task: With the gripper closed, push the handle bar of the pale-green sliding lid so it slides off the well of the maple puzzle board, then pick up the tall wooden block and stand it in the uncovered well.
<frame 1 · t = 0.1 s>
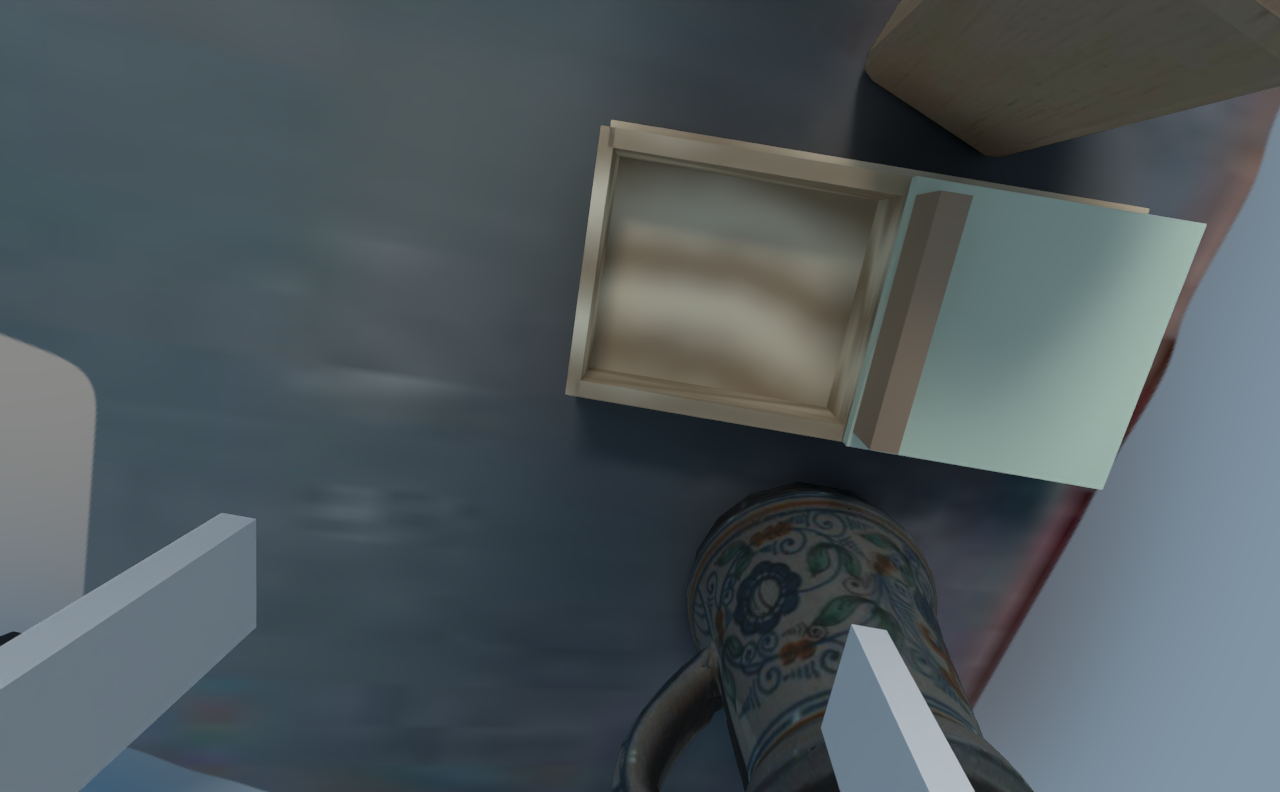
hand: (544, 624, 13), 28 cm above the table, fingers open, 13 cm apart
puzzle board: (839, 305, 38), on the table
lid: (1027, 345, 31), point 7 cm above the table, slide at 0.0 cm
beer stein: (781, 590, 44), on the table
wooden block: (974, 40, 34), on the table
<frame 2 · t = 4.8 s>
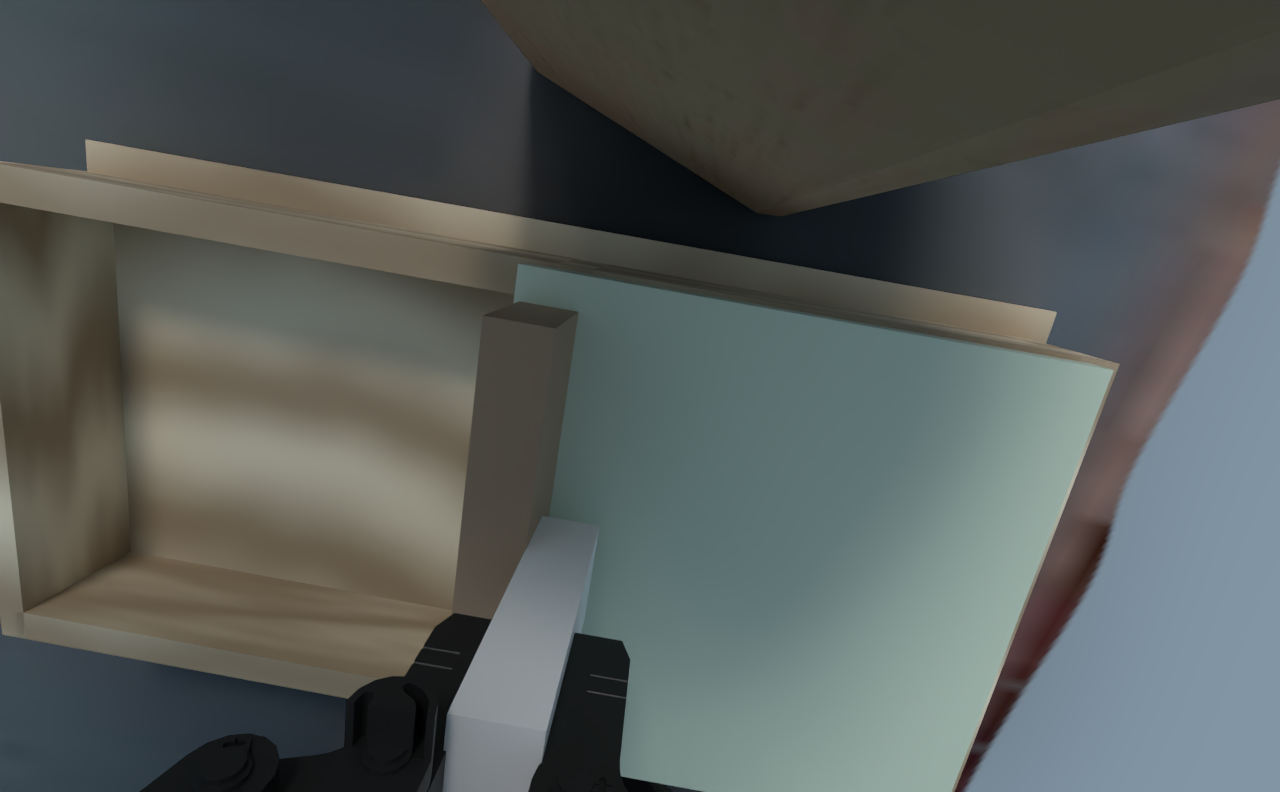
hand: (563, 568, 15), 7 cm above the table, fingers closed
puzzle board: (540, 457, 23), on the table
lid: (754, 603, 15), point 7 cm above the table, slide at 0.8 cm, touching gripper
wooden block: (734, 1, 19), on the table
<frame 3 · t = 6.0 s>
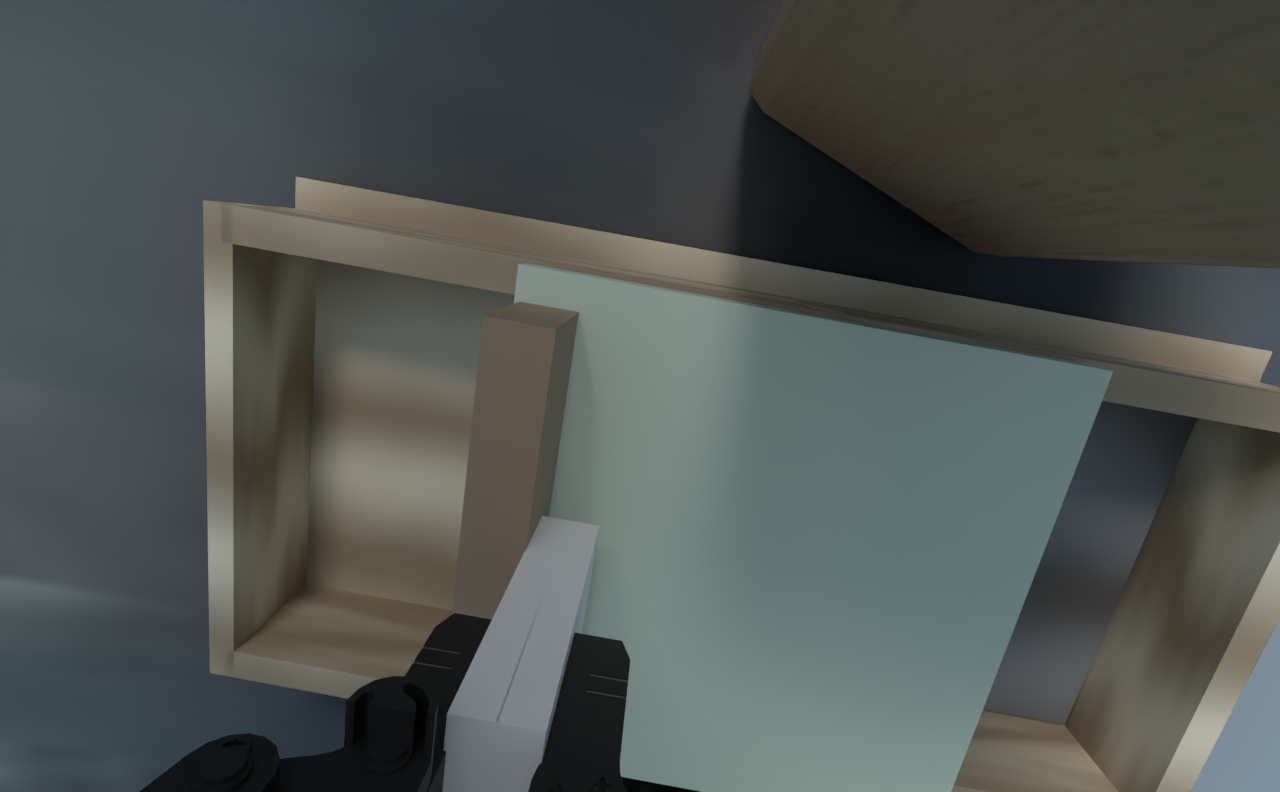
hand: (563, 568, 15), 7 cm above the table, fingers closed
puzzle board: (724, 491, 22), on the table
lid: (754, 604, 16), point 7 cm above the table, slide at 7.8 cm, touching gripper
wooden block: (956, 41, 19), on the table
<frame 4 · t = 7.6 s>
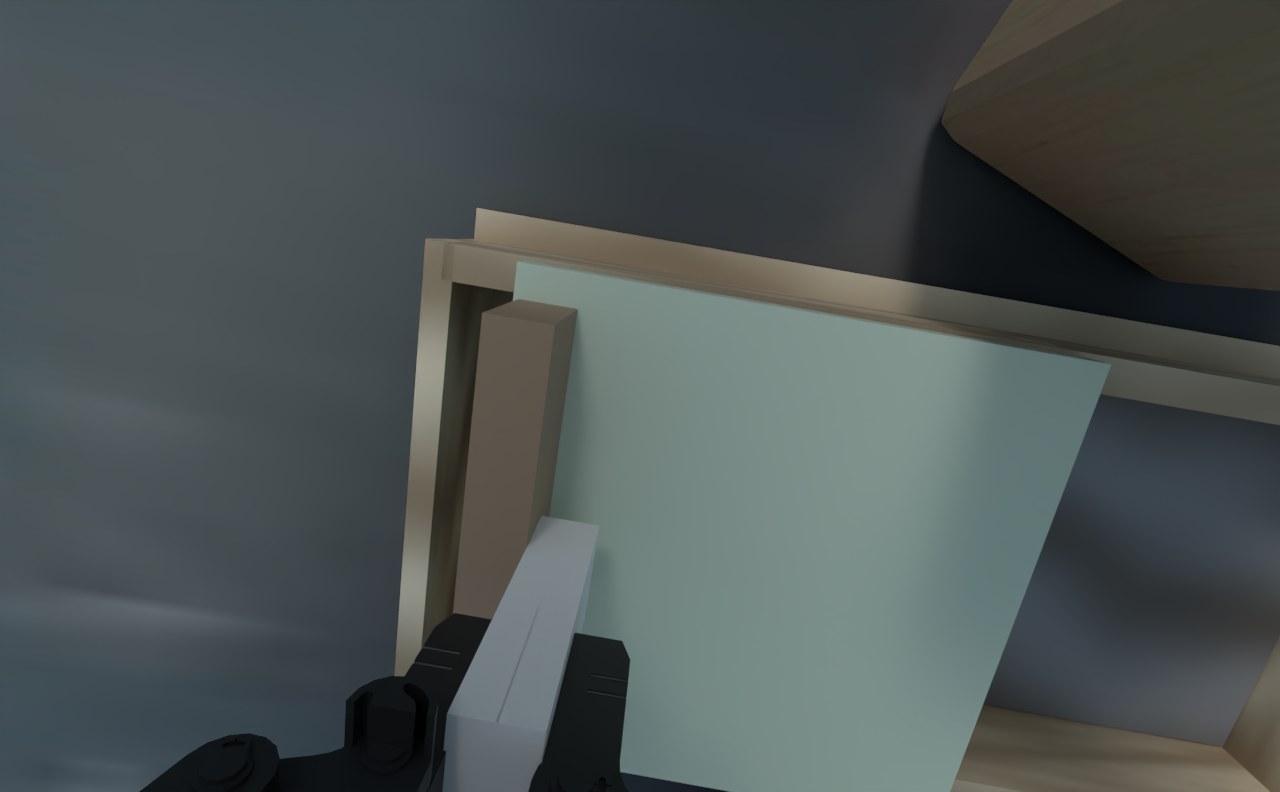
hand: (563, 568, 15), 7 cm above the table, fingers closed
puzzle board: (882, 515, 22), on the table
lid: (754, 599, 16), point 7 cm above the table, slide at 13.8 cm, touching gripper
wooden block: (1145, 69, 19), on the table
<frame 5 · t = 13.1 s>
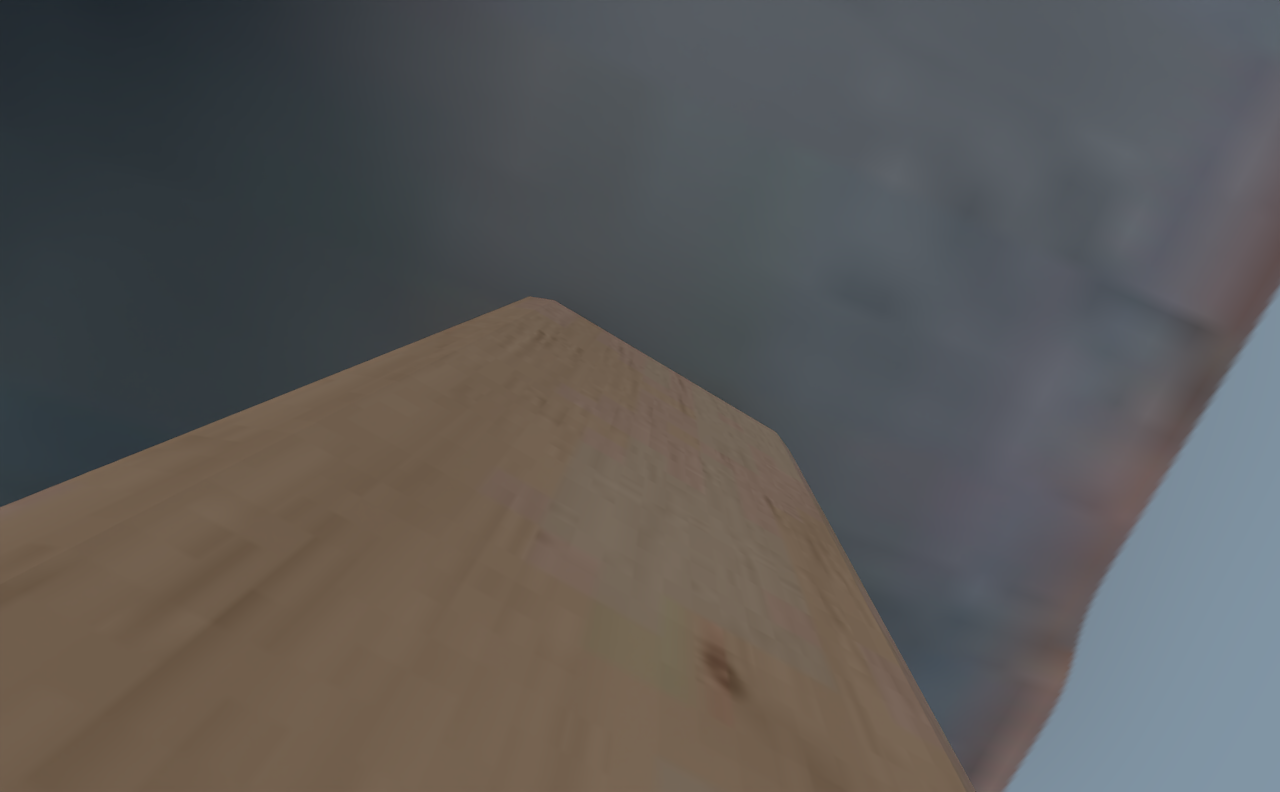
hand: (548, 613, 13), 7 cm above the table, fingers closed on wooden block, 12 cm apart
wooden block: (592, 480, 21), on the table, touching gripper
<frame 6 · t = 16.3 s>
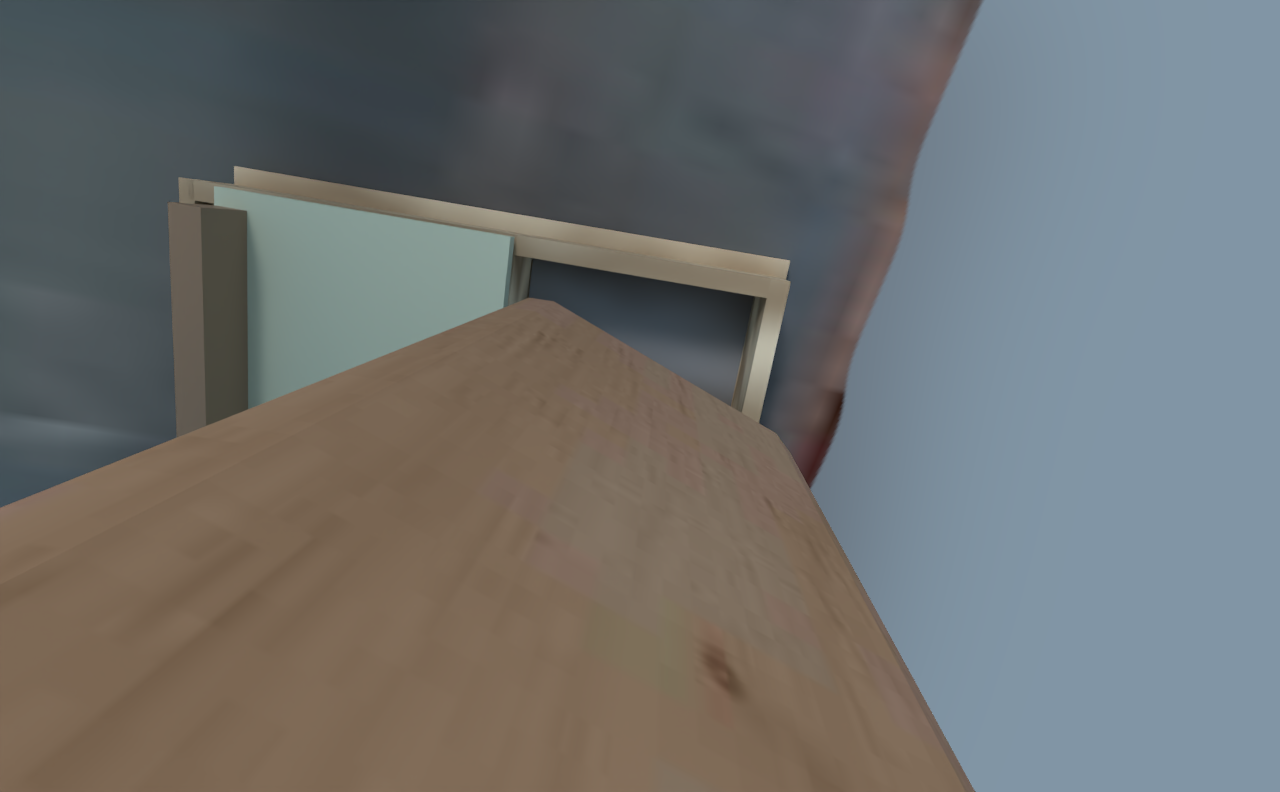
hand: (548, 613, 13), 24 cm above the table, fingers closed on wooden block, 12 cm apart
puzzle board: (500, 355, 37), on the table
lid: (344, 362, 30), point 7 cm above the table, slide at 13.9 cm
wooden block: (592, 481, 21), point 17 cm above the table, touching gripper
when the fingers open (10 cm above the table, at t = 19.6 s): wooden block drops 1 cm, resting on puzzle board.
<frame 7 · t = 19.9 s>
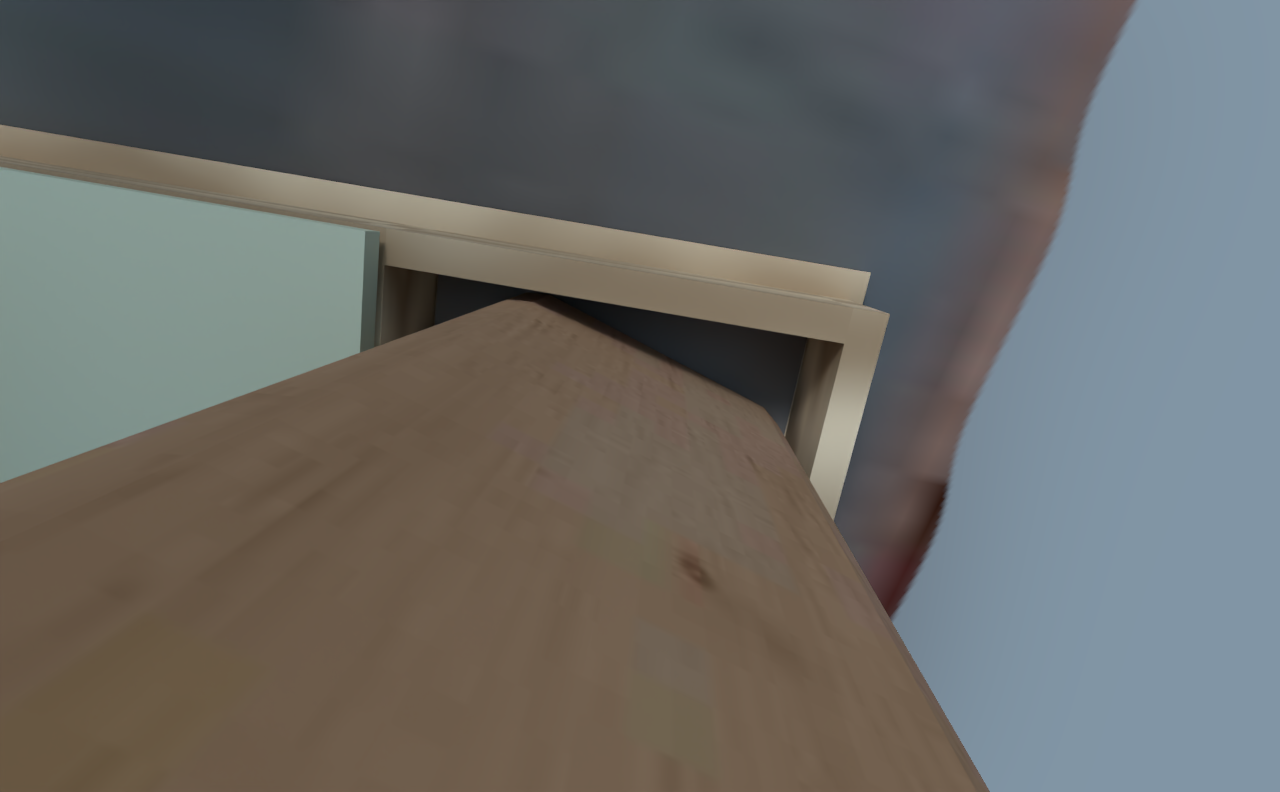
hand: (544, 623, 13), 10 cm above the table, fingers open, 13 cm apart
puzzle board: (397, 422, 23), on the table
lid: (67, 462, 16), point 7 cm above the table, slide at 13.9 cm
wooden block: (595, 463, 22), point 1 cm above the table, touching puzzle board
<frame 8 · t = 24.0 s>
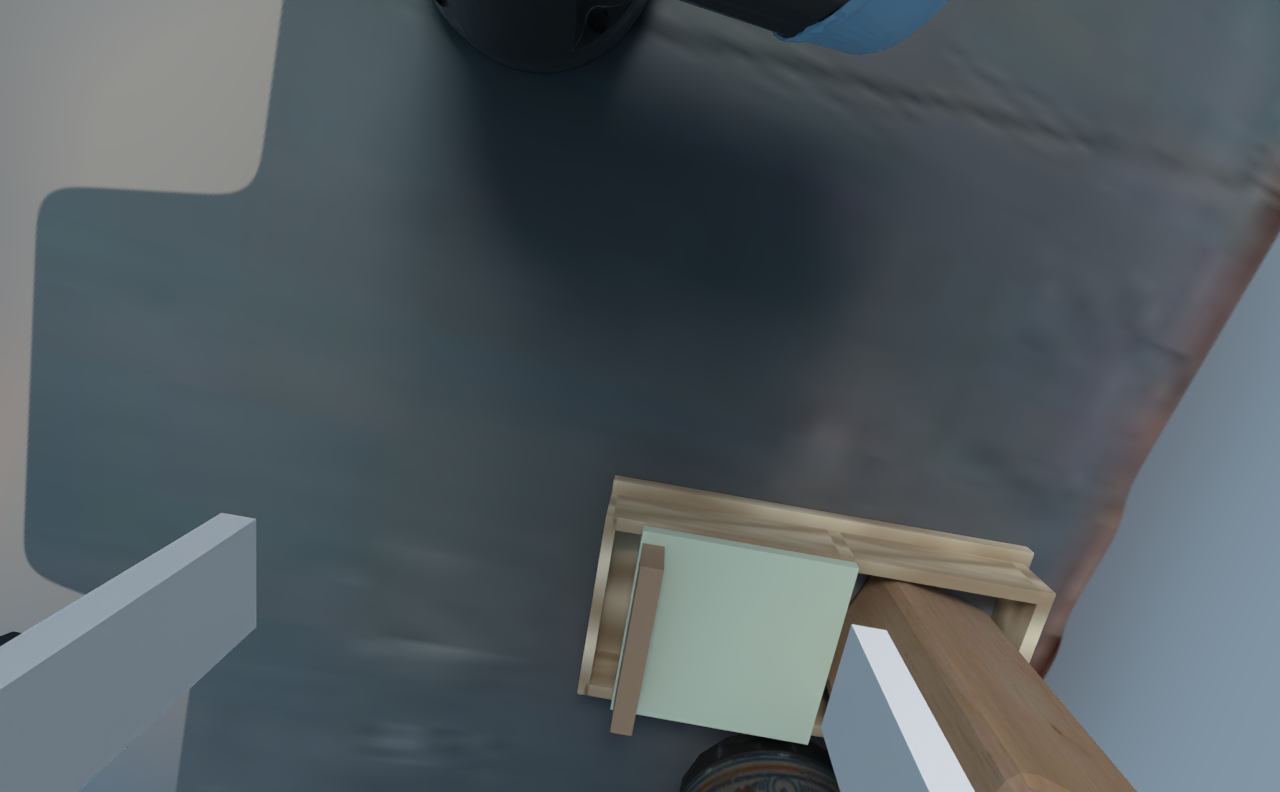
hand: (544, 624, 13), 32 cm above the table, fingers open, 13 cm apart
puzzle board: (794, 606, 48), on the table
lid: (730, 652, 41), point 7 cm above the table, slide at 13.9 cm
wooden block: (897, 629, 47), point 1 cm above the table, touching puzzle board
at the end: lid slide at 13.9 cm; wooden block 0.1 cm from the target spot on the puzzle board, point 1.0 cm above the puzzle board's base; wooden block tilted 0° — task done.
